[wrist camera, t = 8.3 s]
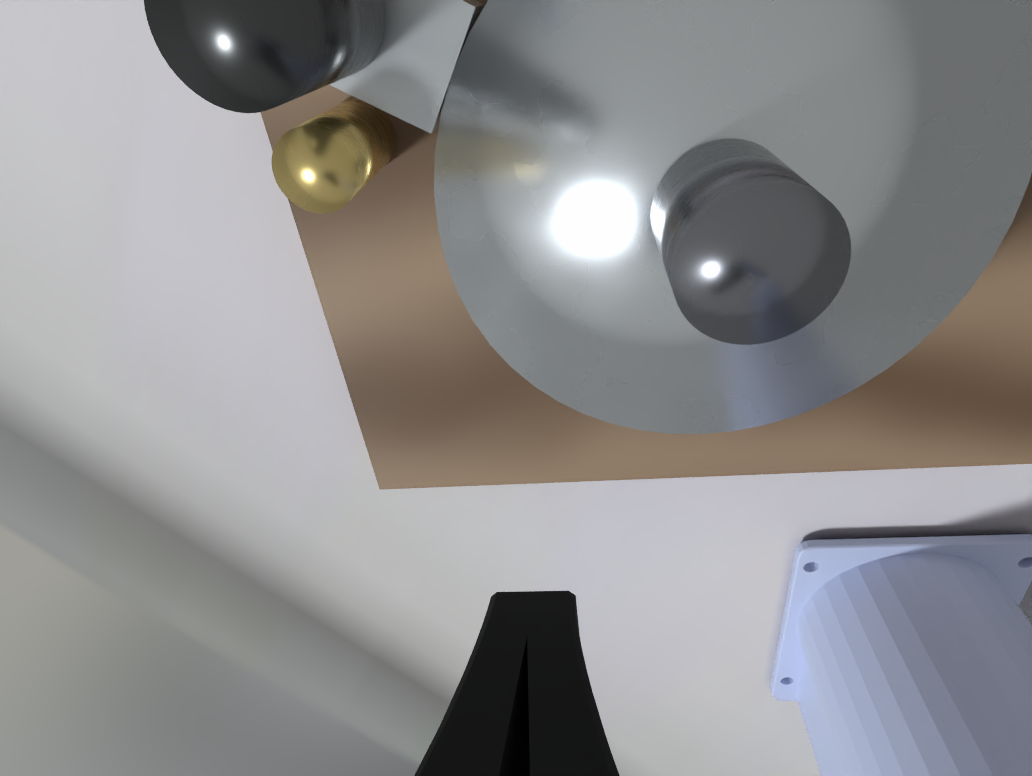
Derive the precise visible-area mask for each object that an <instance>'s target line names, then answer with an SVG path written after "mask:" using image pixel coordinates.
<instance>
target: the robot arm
mask: <svg viewBox="0 0 1032 776" xmlns="http://www.w3.org/2000/svg"><path fill="white" fill-rule="evenodd" d="M810 562H811V563H810ZM1031 582H1032V534H1014V535H977V536H940V537H902V538H865V539H827V540H808V541H804V542H802V543H800V544H799V545H798V546H797V548H796V550H795V554H794V559H793V565H792V570H791V576H790V581H789V586H788V592H787V597H786V602H785V608H784V613H783V618H782V624H781V629H780V634H779V640H778V645H777V651H776V656H775V661H774V667H773V672H772V677H771V683H770V690H771V694H772V696H773V697H774V698H775V699H777V700H783V701H797V702H798V705H799V708H800V711H801V714H802V717H803V721H804V724H805V727H806V730H807V733H808V736H809V739H810V743H811V746H812V749H813V752H814V755H815V758H816V761H817V764H818V768H819V771H820V774H821V776H1032V624H1031V622H1030V621H1029V620H1028V618H1027V617H1026V615H1025V614H1024V613H1023V611H1022V610H1021V608H1020V607H1019V605H1020V603H1021V601H1022V599H1023V597H1024V595H1025V594H1026V592H1027V590H1028V588H1029V586H1030V584H1031ZM415 776H619V773H618V770H617V768H616V765H615V762H614V759H613V756H612V753H611V750H610V747H609V744H608V741H607V738H606V735H605V732H604V729H603V726H602V722H601V719H600V716H599V712H598V709H597V706H596V702H595V699H594V696H593V693H592V689H591V685H590V681H589V678H588V674H587V670H586V665H585V661H584V656H583V652H582V647H581V642H580V637H579V626H578V616H577V606H576V596H575V595H574V594H572V593H571V592H569V591H535V592H497V593H495V594H494V595H493V596H492V597H491V599H490V603H489V606H488V610H487V613H486V616H485V619H484V622H483V625H482V628H481V630H480V633H479V636H478V639H477V641H476V644H475V646H474V649H473V652H472V654H471V656H470V659H469V661H468V664H467V666H466V669H465V671H464V674H463V676H462V678H461V680H460V683H459V685H458V687H457V689H456V692H455V694H454V696H453V698H452V700H451V703H450V705H449V707H448V709H447V712H446V714H445V716H444V718H443V720H442V722H441V724H440V727H439V729H438V731H437V733H436V735H435V737H434V739H433V740H432V742H431V744H430V746H429V748H428V750H427V752H426V754H425V756H424V758H423V760H422V762H421V764H420V766H419V768H418V770H417V772H416V774H415Z"/></svg>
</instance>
